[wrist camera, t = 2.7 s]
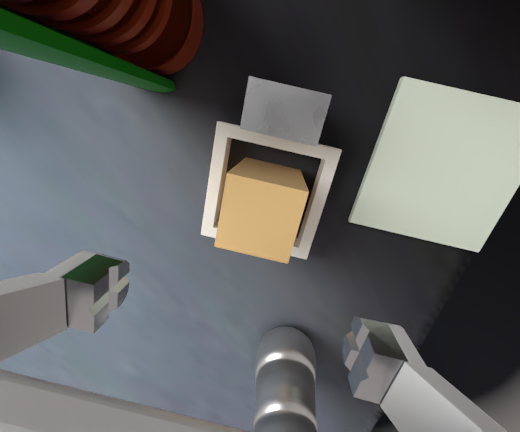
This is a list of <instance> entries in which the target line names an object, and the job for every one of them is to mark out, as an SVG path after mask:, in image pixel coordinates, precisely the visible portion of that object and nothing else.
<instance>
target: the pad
mask: <svg viewBox="0 0 520 432" xmlns="http://www.w3.org/2000/svg"><path fill="white" fill-rule="evenodd" d="M519 185H520V103H519V102H515V101H510V100H506V99H501V98H497V97H492V96H488V95H484V94H479V93H475V92H470V91H466V90H462V89H457V88H453V87H448V86H444V85H440V84H435V83H431V82H426V81H422V80H418V79H413V78H409V77H404V76H403V77H401V78H400V80H399V82H398V85H397V88H396V91H395V93H394V96H393V99H392V101H391V104H390V107H389V110H388V112H387V115H386V118H385V120H384V123H383V126H382V129H381V131H380V134H379V137H378V139H377V142H376V145H375V148H374V150H373V153H372V156H371V158H370V161H369V164H368V167H367V169H366V172H365V175H364V177H363V180H362V183H361V186H360V188H359V191H358V194H357V196H356V199H355V202H354V205H353V207H352V210H351V213H350V215H349V218H348V221H349V222H351V223H355V224H359V225H363V226H368V227H372V228H376V229H381V230H385V231H389V232H393V233H398V234H402V235H406V236H410V237H415V238H419V239H423V240H427V241H432V242H436V243H440V244H444V245H449V246H453V247H457V248H462V249H466V250H470V251H474V252H479V251H480V250H481V248H482V246H483V245H484V243H485V241H486V240H487V238H488V236H489V235H490V233H491V231H492V230H493V228H494V226H495V225H496V223H497V221H498V220H499V218H500V217H501V215H502V213H503V212H504V210H505V208H506V207H507V205H508V203H509V202H510V200H511V198H512V197H513V195H514V193H515V192H516V190H517V188H518V187H519Z"/></svg>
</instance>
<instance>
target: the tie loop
mask: <svg viewBox="0 0 520 432" xmlns="http://www.w3.org/2000/svg"><path fill="white" fill-rule="evenodd" d="M331 97H332V95H330V94H326V93H321V92H317V91H312V90H308V89H304V88H299V87H295V86H291V85H286V84H282V83H277V82H273V81H269V80H264V79H260V78H256V77H251V76H249V78H248V84H247V90H246V95H245V101H244V107H243V112H242V118H241V124H240V125H236V124H231V123H227V122H222V121H217V125H216V132H215V139H214V146H213V153H212V160H211V167H210V174H209V181H208V188H207V195H206V202H205V209H204V216H203V223H202V230H201V235H205V236H209V237H213V238H216V234H217V228H218V222H219V220H218V219H219V213H220V207H221V201H222V195H223V189H224V183H225V177H226V171H227V165H228V159H229V153H230V147H231V141H232V138H233V139H238V140H242V141H246V142H251V143H255V144H259V145H264V146H268V147H272V148H277V149H281V150H285V151H290V152H294V153H298V154H302V155H307V156H311V157H315V158H320V159H321V162H320V165H319V169H318V172H317V175H316V179H315V182H314V186H313V189H312V192H311V196H310V199H309V202H308V206H307V209H306V212H305V216H304V219H303V222H302V226H301V229H300V232H299V236H298V238H295V242H294V245H293V248H292V252H291V255H290V256H293V257H298V258H302V259H306V260H307V257H308V254H309V251H310V248H311V244H312V241H313V238H314V235H315V232H316V229H317V226H318V223H319V220H320V217H321V214H322V211H323V207H324V204H325V201H326V198H327V195H328V192H329V189H330V186H331V183H332V180H333V177H334V174H335V170H336V167H337V164H338V161H339V158H340V155H341V152H342V150H341V149H338V148H335V147H331V146H327V145H322V144H318V142H319V138H320V135H321V131H322V128H323V125H324V121H325V118H326V114H327V111H328V107H329V104H330V100H331Z"/></svg>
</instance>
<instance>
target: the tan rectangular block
mask: <svg viewBox="0 0 520 432" xmlns="http://www.w3.org/2000/svg"><path fill="white" fill-rule="evenodd" d="M308 194H309V191H308V188H307V185H306V183H305V180H304V178H303V175H302V172H301V170H299V169H295V168H290V167H286V166H282V165H277V164H273V163H269V162H265V161H260V160H256V159H252V158H247V157H245V158H244V159H243V160H242V161H241V162H239V163H238V164H237V165H236V166H235V167H233V168H232V169H231V170H230V171H228V172H227V174H226V180H225V186H224V192H223V198H222V204H221V210H220V216H219V222H218V228H217V234H216V240H215V245H214V247H219V248H223V249H227V250H231V251H236V252H240V253H244V254H248V255H253V256H257V257H261V258H265V259H269V260H274V261H278V262H282V263H286V264H288V262H289V259H290V255H291V252H292V248H293V245H294V242H295V238H296V235H297V231H298V228H299V225H300V221H301V218H302V215H303V211H304V208H305V204H306V201H307V198H308Z"/></svg>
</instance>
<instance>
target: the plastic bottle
mask: <svg viewBox="0 0 520 432" xmlns="http://www.w3.org/2000/svg"><path fill="white" fill-rule="evenodd" d="M255 377H256V401H255V418H254V424H253V432H318V427H317V421H316V402H315V380H316V355H315V352H314V349H313V346H312V343H311V341H310V340H309V338H308V337H307V336H306V335H305V334H304V333H302V332H301V331H300V330H298V329H296V328H293V327H289V326H281V327H276V328H274V329H272V330H270V331H269V332H268V333H266V334H265V335H264V336H263V337H262V338H261V340H260V342H259V344H258V347H257V351H256V354H255Z"/></svg>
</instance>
